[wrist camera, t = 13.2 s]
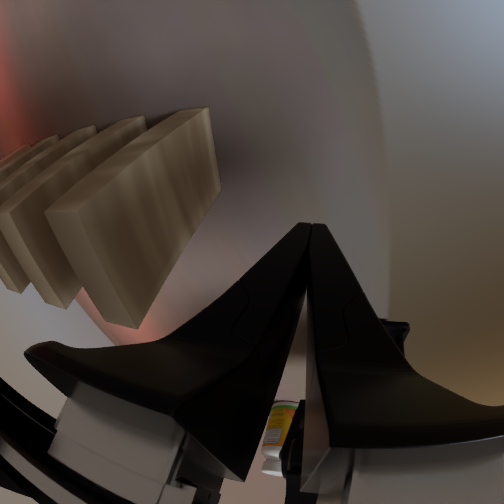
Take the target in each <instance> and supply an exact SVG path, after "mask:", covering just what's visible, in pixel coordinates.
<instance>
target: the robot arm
mask: <svg viewBox="0 0 504 504" xmlns="http://www.w3.org/2000/svg"><path fill="white" fill-rule="evenodd" d="M306 290H307V360H306V399H305V400H300V402H299V405H298V408H297V409H296V410H295V413H294V416H293V419H292V422H291V424H290V427H289V430H288V433H287V435H286V438H285V441H284V443H283V446H282V449H281V450H280V452H279V459H280V460H281V471H282V475H283V477H284V478H285V479H286V497H285V504H504V405H502V406H486V405H482V404H478V403H475V402H473V401H470V400H468V399H466V398H464V397H462V396H460V395H458V394H456V393H454V392H452V391H450V390H448V389H446V388H444V387H442V386H440V385H438V384H436V383H434V382H432V381H430V380H429V379H427V378H425V377H423V376H421V375H420V374H419V373H417V372H416V371H415V370H414V369H413V368H412V366H411V365H410V364H409V363H408V361H407V360H406V358H405V354H404V341H405V339H406V337H407V335H408V333H409V331H410V326H409V323H407V322H392V321H380V320H379V318H378V317H377V315H376V313H375V312H374V310H373V308H372V306H371V305H370V303H369V301H368V299H367V297H366V295H365V293H364V292H363V290H362V288H361V286H360V284H359V282H358V280H357V279H356V277H355V275H354V273H353V271H352V269H351V268H350V266H349V264H348V262H347V260H346V259H345V257H344V255H343V253H342V251H341V250H340V248H339V246H338V244H337V243H336V241H335V239H334V237H333V236H332V234H331V232H330V231H329V229H328V227H327V226H326V225H325V224H319V223H314V224H311V223H304V222H299V223H297V224H296V225H295V226H294V227H293V228H292V229H291V230H290V231H289V232H288V233H287V234H286V235H285V236H284V237H283V238H282V239H281V240H280V241H279V242H278V243H277V244H276V245H274V246H273V247H272V248H271V249H270V250H269V251H268V252H267V253H266V254H265V255H264V256H263V257H262V258H261V259H260V260H259V261H258V262H257V263H256V264H255V265H254V266H252V267H251V268H250V269H249V270H248V271H247V272H246V273H245V274H244V275H243V276H242V277H241V278H240V279H239V281H237V282H236V283H234V284H233V285H232V286H231V287H230V288H229V289H228V290H227V291H226V292H225V293H223V294H222V295H221V296H220V297H219V298H218V299H216V300H215V301H214V302H213V303H211V304H210V305H209V306H208V307H206V308H205V309H204V310H202V311H201V312H200V313H198V314H197V315H195V316H194V317H193V318H191V319H190V320H189V321H187V322H186V323H185V324H183V325H182V326H181V327H179V328H178V329H176V330H175V331H174V332H172V333H171V334H169V335H167V336H166V337H164V338H162V339H159V340H156V341H153V342H147V343H139V344H130V345H121V346H112V347H103V348H87V349H85V348H73V347H69V346H66V345H63V344H61V343H59V342H55V341H47V342H42V343H38V344H35V345H33V346H31V347H30V348H28V349H27V350H26V351H24V356H25V358H26V359H27V360H28V362H29V363H30V364H31V365H32V366H33V367H34V368H35V369H36V370H38V372H39V373H40V374H42V375H43V376H44V377H45V378H46V379H47V380H48V381H49V382H50V383H51V384H53V385H54V386H55V387H56V388H57V389H58V390H60V391H61V392H62V393H63V394H64V395H65V396H67V397H68V398H67V400H66V402H65V404H64V406H63V408H62V410H61V412H60V414H59V416H58V418H57V419H55V418H53V417H52V416H50V415H49V414H47V413H45V412H44V411H43V410H41V409H40V408H38V407H36V406H35V405H34V404H32V403H31V402H30V401H28V400H27V399H25V398H24V397H23V396H22V395H20V394H19V393H18V392H17V391H16V390H14V389H13V388H12V387H11V386H10V385H8V384H7V383H6V382H5V381H4V380H3V379H2V378H1V377H0V486H1V487H3V488H6V489H8V490H11V491H14V492H16V493H19V494H22V495H25V496H28V497H31V498H33V499H34V500H35V501H36V502H38V503H39V504H218V503H219V499H220V496H221V494H220V493H219V491H220V489H221V485H222V482H223V479H224V478H227V479H231V480H235V481H240V482H245V480H246V477H247V474H248V472H249V469H250V467H251V464H252V461H253V459H254V456H255V453H256V450H257V448H258V445H259V442H260V439H261V437H262V434H263V431H264V428H265V426H266V423H267V420H268V416H269V414H270V411H271V408H272V405H273V402H274V399H275V396H276V393H277V390H278V387H279V384H280V380H281V377H282V374H283V371H284V368H285V364H286V361H287V358H288V355H289V351H290V348H291V345H292V341H293V338H294V335H295V331H296V328H297V324H298V321H299V317H300V314H301V310H302V306H303V303H304V299H305V295H306Z"/></svg>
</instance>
